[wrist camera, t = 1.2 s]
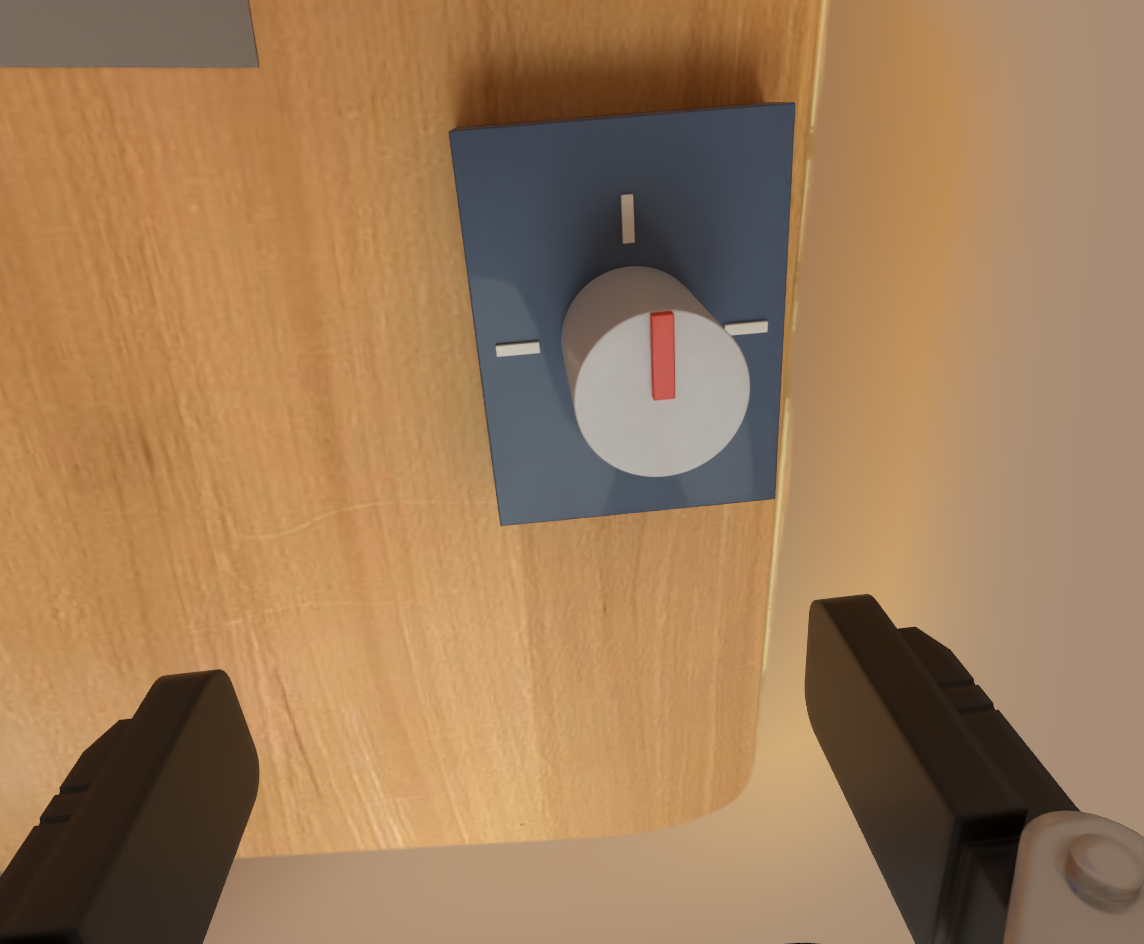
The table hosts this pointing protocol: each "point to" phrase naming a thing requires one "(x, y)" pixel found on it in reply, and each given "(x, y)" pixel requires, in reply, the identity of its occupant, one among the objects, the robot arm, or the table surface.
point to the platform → (126, 33)
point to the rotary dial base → (610, 241)
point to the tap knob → (651, 373)
